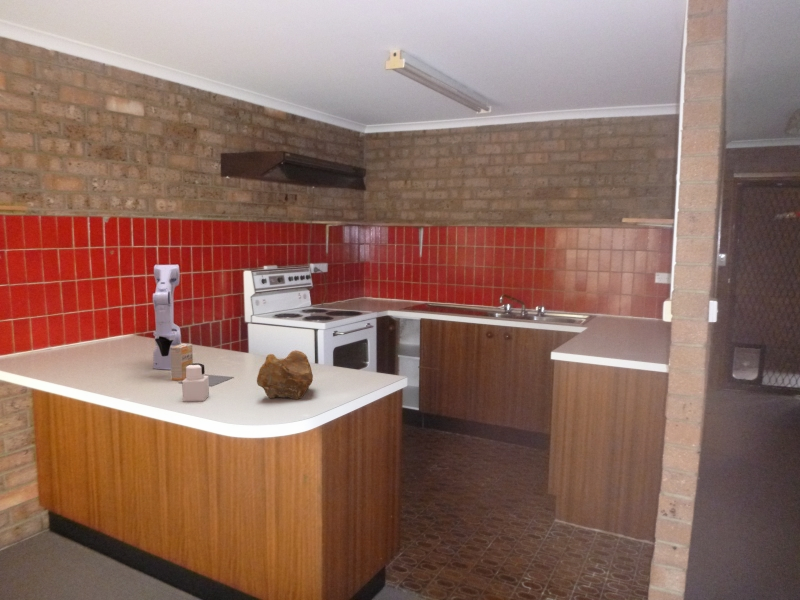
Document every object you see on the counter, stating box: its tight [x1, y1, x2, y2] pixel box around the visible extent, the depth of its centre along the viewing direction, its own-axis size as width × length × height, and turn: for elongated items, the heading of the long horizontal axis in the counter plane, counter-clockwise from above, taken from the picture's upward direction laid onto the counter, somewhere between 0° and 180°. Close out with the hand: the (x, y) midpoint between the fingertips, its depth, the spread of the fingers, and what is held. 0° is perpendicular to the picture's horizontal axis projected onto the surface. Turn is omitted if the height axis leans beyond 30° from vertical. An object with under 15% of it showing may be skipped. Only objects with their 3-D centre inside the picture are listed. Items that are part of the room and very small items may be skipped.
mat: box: [178, 374, 235, 387], centre depth 225 cm, size 15×14×1 cm
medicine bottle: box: [181, 362, 210, 402], centre depth 200 cm, size 7×7×12 cm
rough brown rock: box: [256, 349, 314, 400], centre depth 204 cm, size 23×17×15 cm
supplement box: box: [170, 343, 194, 382], centre depth 228 cm, size 8×5×13 cm, turn 168°
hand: (164, 355), depth 230 cm, fingers closed
